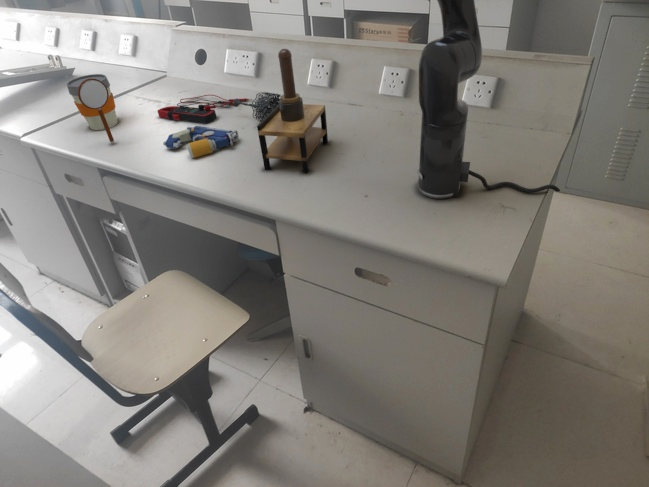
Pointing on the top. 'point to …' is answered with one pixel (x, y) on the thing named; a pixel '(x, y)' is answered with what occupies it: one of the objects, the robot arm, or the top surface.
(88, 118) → the reusable coffee cup
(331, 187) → the top surface
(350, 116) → the top surface
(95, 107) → the magnifying glass
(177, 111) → the digital clamp meter
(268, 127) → the tan black-edged stand
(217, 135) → the spray gun
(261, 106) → the massage brush
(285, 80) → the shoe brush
